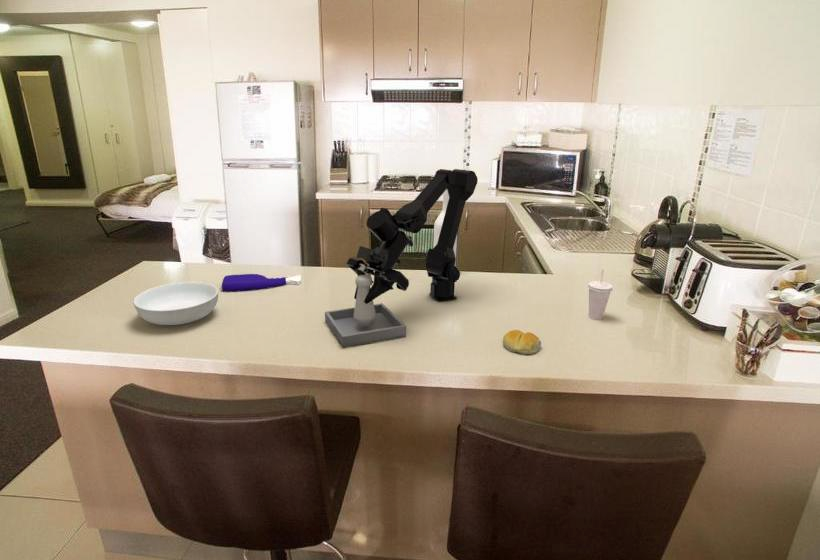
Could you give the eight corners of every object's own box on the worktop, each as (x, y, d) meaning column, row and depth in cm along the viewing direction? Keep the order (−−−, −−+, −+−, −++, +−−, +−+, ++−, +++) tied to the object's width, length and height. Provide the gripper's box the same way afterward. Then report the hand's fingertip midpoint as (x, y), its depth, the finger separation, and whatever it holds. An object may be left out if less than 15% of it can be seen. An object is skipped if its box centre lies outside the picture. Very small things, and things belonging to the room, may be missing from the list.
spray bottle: (220, 285, 152) (302, 280, 158) (223, 274, 162) (300, 270, 168) (221, 294, 153) (302, 289, 159) (224, 282, 163) (300, 278, 169)
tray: (382, 313, 140) (382, 303, 139) (405, 336, 126) (406, 326, 125) (325, 322, 133) (324, 311, 132) (343, 348, 119) (342, 336, 118)
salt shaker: (363, 329, 125) (361, 281, 121) (349, 323, 129) (347, 276, 125) (380, 323, 129) (379, 276, 125) (366, 316, 133) (365, 271, 129)
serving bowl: (118, 326, 129) (114, 301, 127) (180, 299, 148) (177, 277, 145) (180, 340, 122) (176, 314, 120) (237, 310, 140) (234, 287, 138)
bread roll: (509, 337, 127) (510, 322, 126) (543, 345, 123) (545, 331, 121) (496, 349, 120) (497, 334, 119) (532, 359, 116) (533, 343, 115)
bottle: (460, 272, 176) (464, 187, 166) (444, 277, 171) (448, 190, 161) (443, 267, 181) (446, 184, 171) (428, 271, 176) (430, 187, 166)
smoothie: (607, 314, 141) (614, 268, 137) (608, 323, 136) (615, 274, 131) (583, 311, 143) (590, 265, 139) (583, 319, 137) (590, 272, 133)
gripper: (350, 227, 130) (318, 277, 126) (401, 240, 118) (368, 295, 114) (372, 250, 138) (343, 297, 134) (422, 264, 126) (392, 316, 122)
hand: (360, 301), depth 126 cm, fingers closed on salt shaker, 3 cm apart
